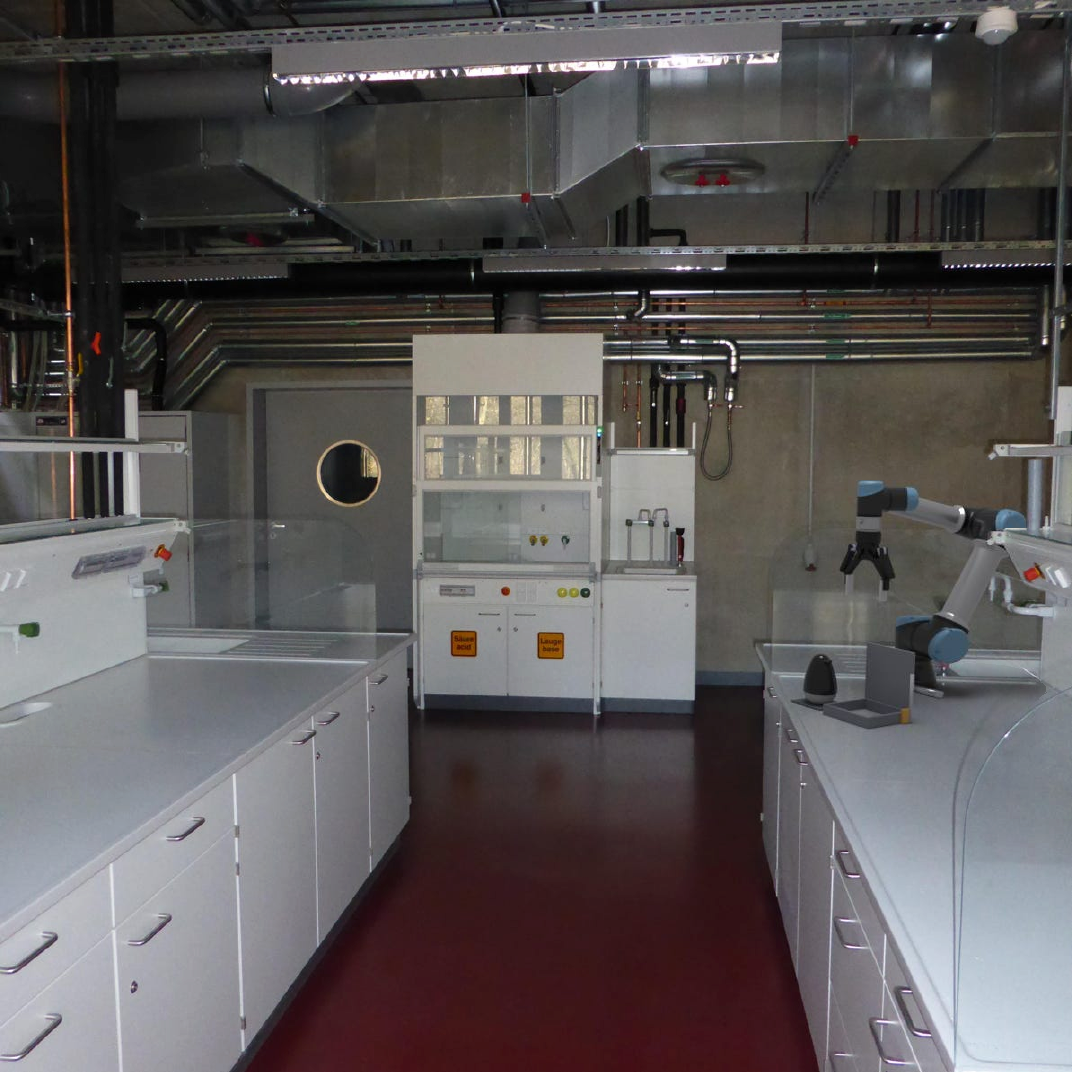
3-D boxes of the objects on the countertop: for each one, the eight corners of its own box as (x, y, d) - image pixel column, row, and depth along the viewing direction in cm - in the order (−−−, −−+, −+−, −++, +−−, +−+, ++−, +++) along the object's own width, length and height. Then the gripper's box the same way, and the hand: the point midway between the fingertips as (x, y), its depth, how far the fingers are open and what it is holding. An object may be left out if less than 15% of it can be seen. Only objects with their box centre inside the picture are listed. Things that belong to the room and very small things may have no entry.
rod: (908, 683, 312) (913, 683, 313) (907, 690, 312) (912, 690, 313) (939, 691, 301) (944, 691, 302) (938, 699, 301) (943, 699, 302)
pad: (819, 697, 301) (819, 696, 301) (848, 706, 291) (848, 704, 291) (790, 701, 296) (790, 700, 296) (819, 710, 285) (819, 709, 285)
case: (866, 706, 290) (868, 642, 289) (915, 722, 274) (918, 653, 272) (822, 713, 282) (825, 647, 280) (871, 730, 266) (874, 659, 264)
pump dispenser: (814, 708, 287) (816, 658, 285) (795, 699, 297) (797, 651, 295) (844, 706, 289) (846, 656, 288) (825, 697, 299) (826, 649, 298)
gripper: (829, 527, 306) (827, 593, 308) (892, 533, 284) (889, 604, 286) (846, 527, 310) (844, 591, 312) (909, 533, 288) (906, 602, 290)
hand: (865, 598), depth 299 cm, fingers open, 13 cm apart
